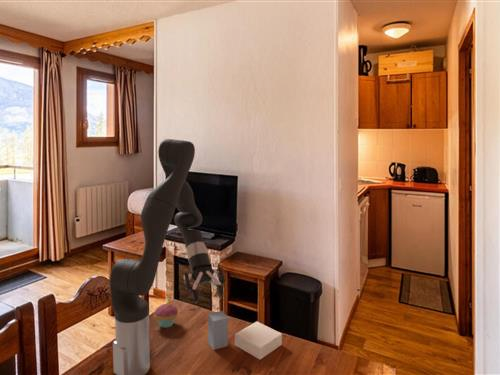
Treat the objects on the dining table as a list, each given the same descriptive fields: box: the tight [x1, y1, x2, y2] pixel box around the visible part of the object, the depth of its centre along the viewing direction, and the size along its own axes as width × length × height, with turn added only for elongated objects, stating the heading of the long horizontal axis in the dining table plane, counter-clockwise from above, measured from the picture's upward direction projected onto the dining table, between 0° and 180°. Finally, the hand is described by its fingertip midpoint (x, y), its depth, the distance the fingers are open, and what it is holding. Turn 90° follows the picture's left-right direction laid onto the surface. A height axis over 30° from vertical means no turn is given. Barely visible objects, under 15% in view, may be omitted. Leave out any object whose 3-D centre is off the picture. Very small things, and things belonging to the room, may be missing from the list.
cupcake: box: [153, 291, 179, 329], centre depth 126 cm, size 9×8×12 cm
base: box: [234, 321, 283, 361], centre depth 116 cm, size 11×11×4 cm
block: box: [207, 310, 229, 351], centre depth 116 cm, size 5×5×10 cm
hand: (209, 299), depth 121 cm, fingers open, 8 cm apart
